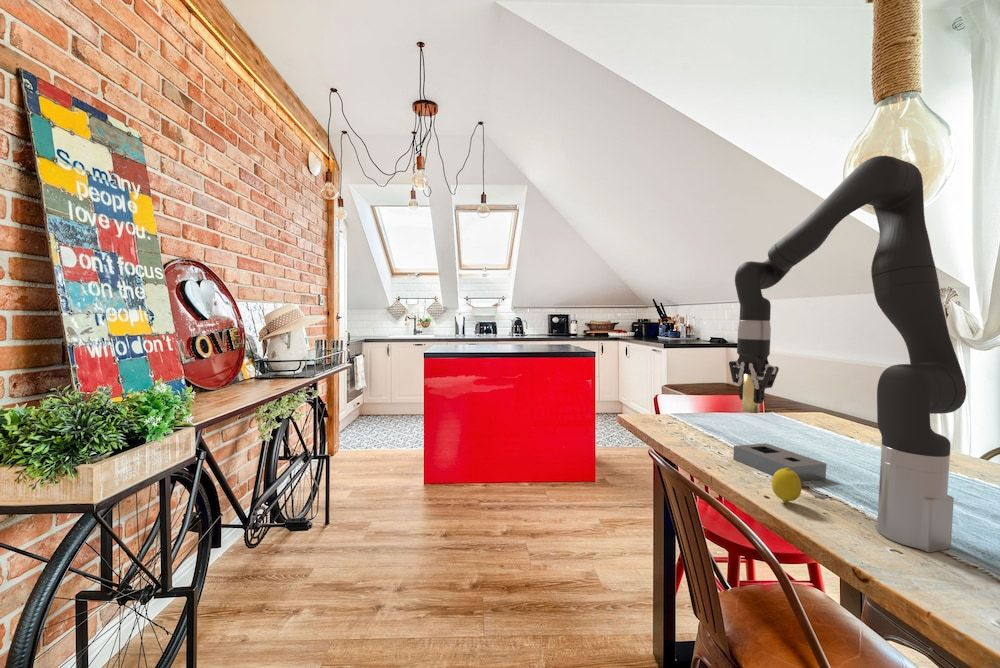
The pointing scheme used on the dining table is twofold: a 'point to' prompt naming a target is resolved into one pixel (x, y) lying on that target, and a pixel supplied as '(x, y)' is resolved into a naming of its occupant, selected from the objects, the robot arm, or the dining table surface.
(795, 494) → the lemon
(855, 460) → the dining table surface
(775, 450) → the plate
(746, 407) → the gold metal block
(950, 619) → the dining table surface
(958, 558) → the dining table surface
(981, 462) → the dining table surface
